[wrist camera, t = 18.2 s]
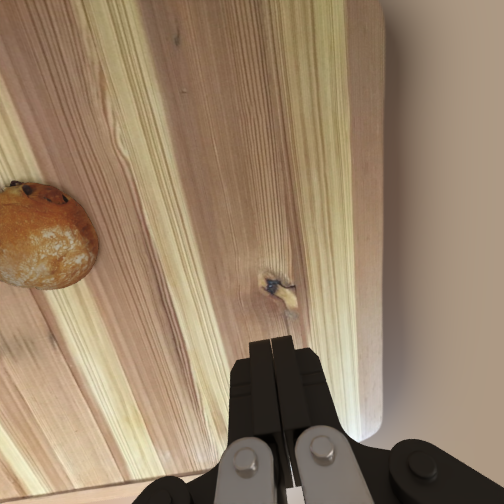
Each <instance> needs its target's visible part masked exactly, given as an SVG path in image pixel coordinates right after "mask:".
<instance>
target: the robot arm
mask: <svg viewBox="0 0 504 504" xmlns="http://www.w3.org/2000/svg"><path fill="white" fill-rule="evenodd" d="M271 342H272V348H271V343H270V339H266V340H260V341H255V342H249V353H250V358H246V359H240V360H236V362H235V364H234V366H233V368H232V370H231V372H230V399H229V426H228V444H227V448H226V450H225V451H224V453H223V454H222V456H221V459H220V462H219V463H218V464H217V465H216V466H215V467H214V468H213V469H211V470H210V471H209V472H207V473H206V474H204V475H202V476H200V477H198V478H196V479H194V480H192V481H190V482H188V483H185V482H184V481H183V480H182V479H180V478H178V477H175V476H166V477H162V478H159V479H157V480H155V481H154V482H152V483H151V484H150V485H148V486H147V487H146V488H145V489H144V490H143V491H142V492H141V494H140V495H139V496H138V497H137V498H136V499H135V501H134V502H133V503H132V504H288V503H287V495H286V488H293V481H292V474H291V467H292V471H293V476H294V480H295V485H296V487H298V486H302V491H303V496H304V501H305V504H504V488H503V487H501V486H500V485H498V484H497V483H495V482H493V481H492V480H490V479H489V478H487V477H485V476H483V475H482V474H480V473H479V472H477V471H475V470H474V469H472V468H471V467H469V466H467V465H466V464H464V463H462V462H461V461H459V460H458V459H456V458H454V457H453V456H451V455H449V454H448V453H446V452H445V451H443V450H441V449H439V448H438V447H436V446H435V445H433V444H431V443H428V442H426V441H422V440H418V439H407V440H403V441H401V442H399V443H397V444H396V445H395V446H394V447H393V448H392V449H391V450H385V449H378V448H373V447H368V446H364V445H362V444H360V443H358V442H356V441H354V440H353V439H352V438H350V437H349V436H348V435H347V434H346V433H345V431H344V430H343V428H342V427H341V424H340V422H339V419H338V416H337V413H336V410H335V406H334V403H333V400H332V397H331V394H330V391H329V388H328V385H327V382H326V378H325V375H324V372H323V369H322V366H321V363H320V360H319V357H318V356H317V355H316V354H315V353H314V352H313V351H312V350H311V349H310V348H303V349H297V350H295V349H294V345H293V340H292V336H291V335H289V336H283V337H277V338H271ZM272 349H273V353H272ZM273 356H274V358H273ZM289 457H290V459H289ZM290 462H291V467H290Z"/></svg>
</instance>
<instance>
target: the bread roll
mask: <svg viewBox="0 0 504 504" xmlns="http://www.w3.org/2000/svg"><path fill="white" fill-rule="evenodd" d="M98 247H99V246H98V237H97V234H96V232H95V229H94V227H93V226H92V224H91V221H90V219H89V218H88V216H87V214H86V213H85V211H84V210H83V208H82V207H81V205H79V204H78V203H77V202H76V201H75V200H74V199H72V198H71V197H70V196H68V195H67V194H65V193H63V192H62V191H60V190H58V189H57V188H55V187H52V186H47V185H42V184H38V183H24V182H22V183H21V182H18V181H11V184H10V187H5V188H4V191H3V190H1V189H0V280H1V281H3V282H5V283H8V284H10V285H13V286H18V287H22V288H36V289H40V290H53V289H60V288H65V287H68V286H70V285H72V284H75V283H77V282H78V281H80V280H81V279H82V278H84V277H85V276H86V275H87V274H88V273H89V271H90V270H91V269H92V267H93V265H94V263H95V261H96V258H97V253H98Z"/></svg>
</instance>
